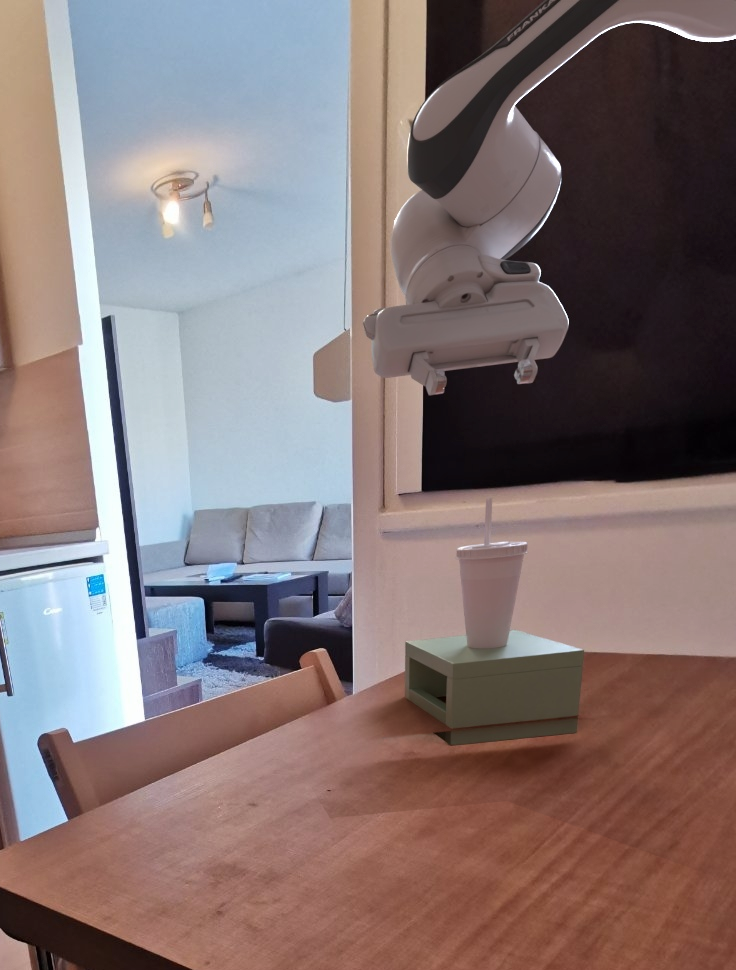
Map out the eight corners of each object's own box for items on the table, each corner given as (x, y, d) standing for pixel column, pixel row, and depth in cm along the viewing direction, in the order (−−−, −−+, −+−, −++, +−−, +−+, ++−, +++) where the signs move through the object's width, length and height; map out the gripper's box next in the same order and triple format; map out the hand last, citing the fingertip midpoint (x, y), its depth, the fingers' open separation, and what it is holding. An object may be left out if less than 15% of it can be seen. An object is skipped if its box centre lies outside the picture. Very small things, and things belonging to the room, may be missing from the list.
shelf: (511, 700, 86) (515, 629, 83) (576, 733, 73) (584, 649, 70) (404, 711, 87) (405, 641, 84) (450, 745, 74) (453, 663, 71)
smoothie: (439, 646, 79) (442, 503, 74) (487, 637, 81) (494, 496, 76) (486, 653, 73) (493, 498, 69) (537, 643, 75) (547, 491, 70)
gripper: (364, 285, 84) (391, 368, 78) (552, 261, 83) (593, 343, 77) (354, 340, 90) (378, 421, 84) (530, 318, 89) (567, 398, 83)
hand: (483, 383), depth 81 cm, fingers open, 8 cm apart
